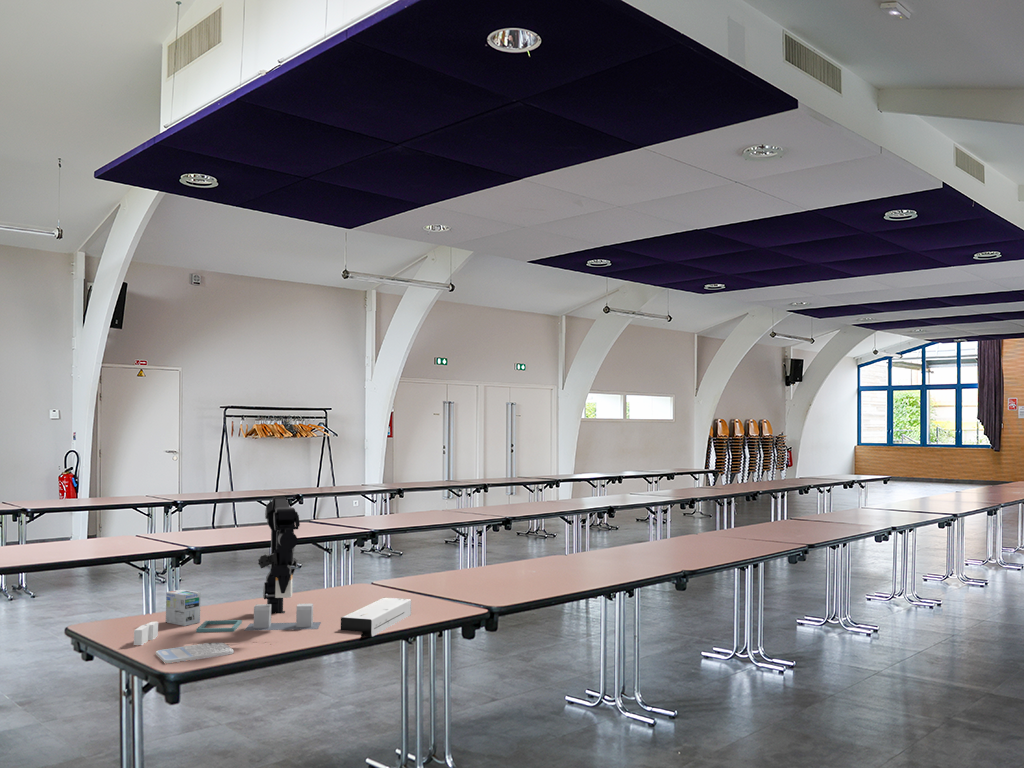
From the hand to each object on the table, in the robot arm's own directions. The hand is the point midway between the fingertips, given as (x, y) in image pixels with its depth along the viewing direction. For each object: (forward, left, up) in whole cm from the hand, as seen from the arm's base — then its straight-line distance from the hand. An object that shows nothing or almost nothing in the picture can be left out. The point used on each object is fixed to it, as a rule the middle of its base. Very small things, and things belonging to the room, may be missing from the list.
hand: (283, 591), depth 282 cm
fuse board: (0, 0, -13) cm, 13 cm away
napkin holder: (+10, -41, -14) cm, 44 cm away
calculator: (+27, -22, -14) cm, 37 cm away
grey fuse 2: (0, +7, -12) cm, 14 cm away
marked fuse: (0, 0, -2) cm, 2 cm away
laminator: (-7, +31, -14) cm, 34 cm away
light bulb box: (-15, -37, -13) cm, 42 cm away
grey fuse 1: (0, -7, -12) cm, 13 cm away
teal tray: (0, -21, -13) cm, 25 cm away
